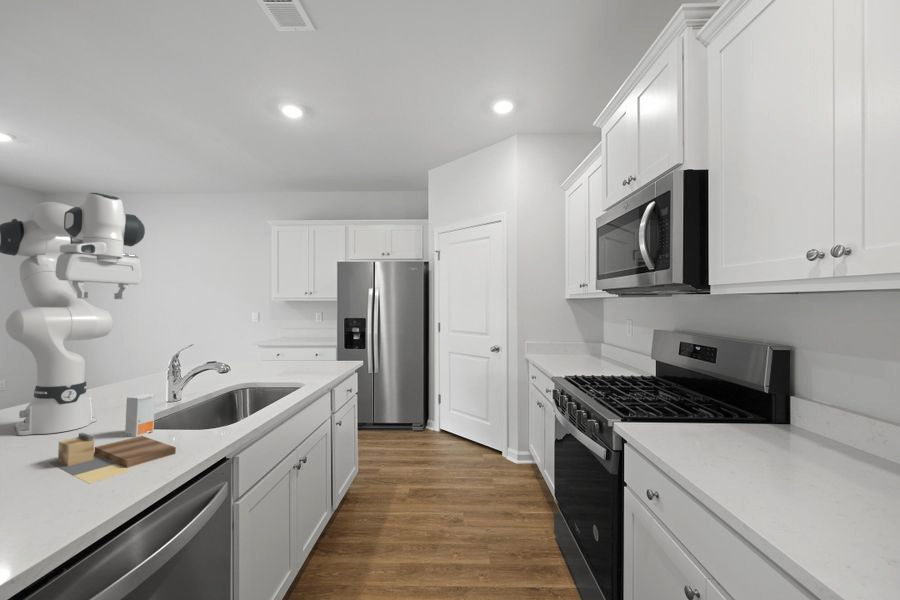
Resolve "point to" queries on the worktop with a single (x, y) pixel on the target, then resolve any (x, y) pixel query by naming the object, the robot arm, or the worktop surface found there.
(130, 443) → the walnut board
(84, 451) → the light wooden block
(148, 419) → the skincare box
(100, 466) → the strip
